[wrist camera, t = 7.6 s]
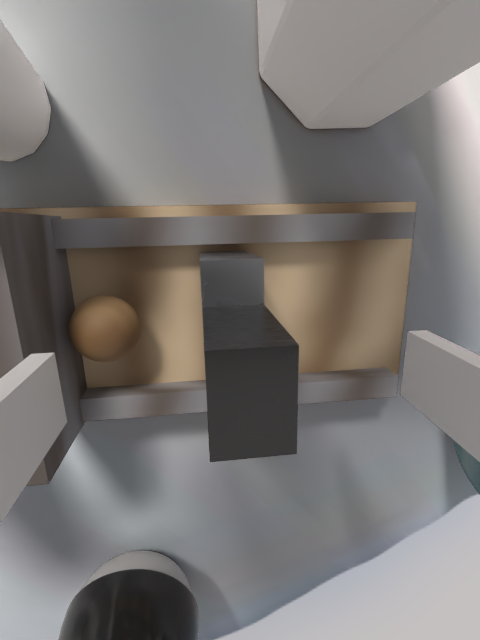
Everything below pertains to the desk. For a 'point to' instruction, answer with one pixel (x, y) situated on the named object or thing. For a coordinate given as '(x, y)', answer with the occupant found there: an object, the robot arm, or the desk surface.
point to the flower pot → (469, 466)
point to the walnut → (104, 328)
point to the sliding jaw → (246, 362)
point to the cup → (362, 54)
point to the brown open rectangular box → (186, 300)
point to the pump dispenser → (133, 602)
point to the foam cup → (20, 102)
